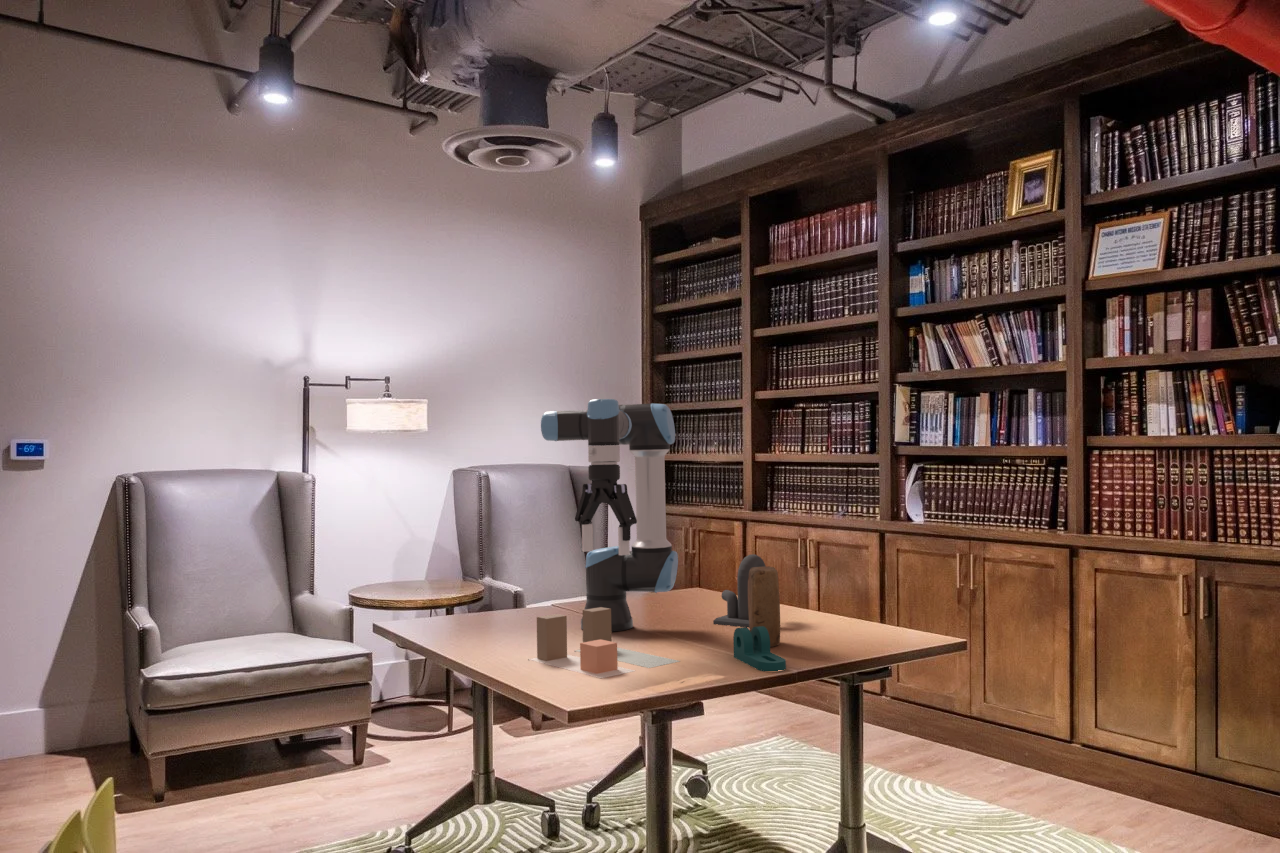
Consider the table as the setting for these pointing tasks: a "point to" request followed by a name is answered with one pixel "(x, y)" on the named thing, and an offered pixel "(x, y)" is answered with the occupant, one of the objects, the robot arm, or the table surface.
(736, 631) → the bracket
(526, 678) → the table surface
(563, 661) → the cube strip
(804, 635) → the table surface
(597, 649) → the cube
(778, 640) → the block
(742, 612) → the faucet
